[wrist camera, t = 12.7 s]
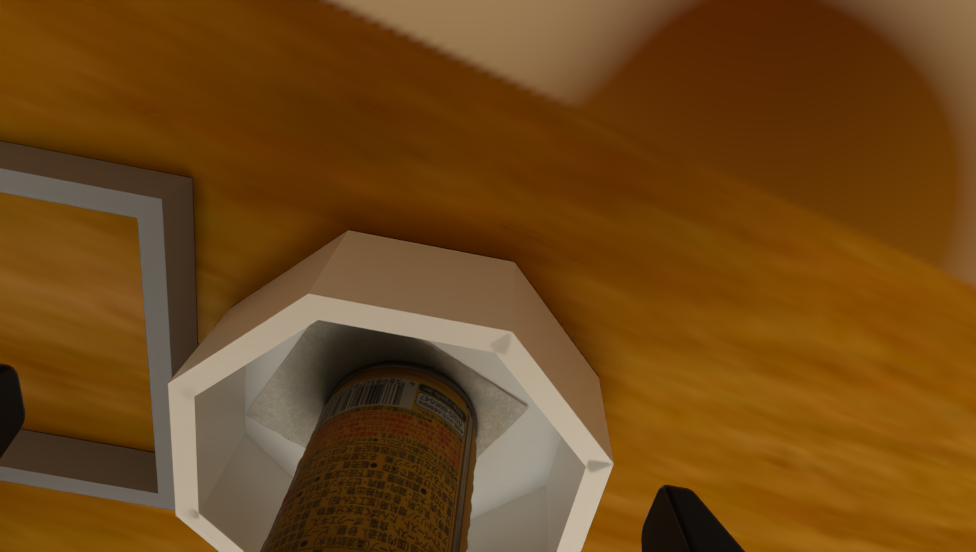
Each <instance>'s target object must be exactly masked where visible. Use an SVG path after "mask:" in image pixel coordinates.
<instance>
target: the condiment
mask: <svg viewBox="0 0 976 552" xmlns="http://www.w3.org/2000/svg"><path fill="white" fill-rule="evenodd" d="M527 409H528V407H526V406H524V405H523V404H521V403H519V402H518V401H516V400H515V399H514V398H512V397H511V396H509V395H507V394H506V393H504V392H503V391H501V390H500V389H498V388H497V387H496V386H494V385H493V384H491V383H490V382H488V381H486V380H484V379H482V378H480V377H479V376H478V375H476V374H475V373H474V372H472V371H471V370H469V369H468V368H466V367H464V366H463V365H461V364H459V363H456V362H455V361H454V360H453V359H451V358H450V357H448V356H446V355H444V354H442V353H441V352H439V351H437V350H436V349H434V348H433V347H431V346H429V345H426V344H424V343H422V342H421V341H419V340H417V339H416V338H413V337H408V336H403V335H397V334H392V333H386V332H381V331H376V330H370V329H365V328H360V327H354V326H349V325H343V324H338V323H333V322H327V321H322V320H317V321H316V322H314V323H312V324H311V325H309V326H308V328H307V329H306V331H305V332H304V333H303V334H302V336H301V337H300V339H299V340H298V342H297V343H296V344H295V346H294V347H293V348H292V350H291V351H290V353H289V354H288V355H287V357H286V358H285V360H284V361H283V362H282V363H281V365H280V366H279V368H278V369H277V371H276V372H275V374H274V375H273V376H272V378H271V379H270V380H269V382H268V383H267V385H266V386H265V387H264V389H263V390H262V391H261V393H260V395H259V396H258V397H257V399H256V400H255V401H254V403H253V404H252V406H251V407H250V408H249V410H248V411H247V413H246V414H245V415H246V416H248V417H250V418H251V419H253V420H255V421H257V422H258V423H259V424H261V425H263V426H264V427H266V428H268V429H271V430H273V431H276V432H277V433H279V434H281V435H282V436H283V437H284V438H286V439H287V440H289V441H291V442H294V443H296V444H299V445H300V446H302V447H304V448H306V449H305V451H304V454H303V456H302V458H301V459H300V460H299V462H298V465H297V469H296V472H295V474H294V477H293V479H292V482H291V485H290V487H289V489H288V491H287V494H286V496H285V498H284V500H283V502H282V505H281V507H280V509H279V512H278V514H277V516H276V519H275V521H274V523H273V525H272V528H271V530H270V532H269V535H268V537H267V539H266V540H265V542H264V544H263V546H262V548H261V550H260V552H466V551H467V549H468V540H467V537H468V530H469V528H470V515H471V512H472V503H471V499H472V494H473V490H474V487H473V481H474V470H475V465H476V461H477V460H476V459H477V458H478V457H479V456H480V455H481V454H482V453H483V452H484V451H485V450H486V449H487V448H488V447H489V446H490V445H491V444H492V443H493V442H494V441H495V440H497V439H498V438H499V437H500V436H501V435H502V434H503V433H505V432H506V431H507V430H508V428H510V427H511V426H512V425H513V424H514V423H515V422H516V421H517V420H518V419H519V418H520V417H521V416H522V415H523V414H524V413H525V412H526V411H527Z"/></svg>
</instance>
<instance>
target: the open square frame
mask: <svg viewBox="0 0 976 552" xmlns="http://www.w3.org/2000/svg"><path fill="white" fill-rule="evenodd" d="M0 192H3V193H8V194H13V195H18V196H24V197H29V198H34V199H39V200H45V201H50V202H55V203H60V204H66V205H71V206H76V207H81V208H87V209H92V210H97V211H102V212H108V213H113V214H118V215H124V216H129V217H134V218H137V221H138V234H139V247H140V260H141V273H142V286H143V299H144V312H145V325H146V338H147V351H148V364H149V377H150V390H151V403H152V416H153V430H154V443H155V453H152V452H147V451H141V450H135V449H130V448H124V447H118V446H113V445H107V444H101V443H96V442H90V441H84V440H78V439H73V438H67V437H61V436H56V435H50V434H44V433H39V432H33V431H27V430H21V429H20V431H19V433H18V434H17V435H16V437H15V438H14V440H13V441H12V443H11V444H10V446H9V447H8V449H7V450H6V451H5V453H4V454H3V456H2V457H1V459H0V480H1V481H7V482H12V483H18V484H24V485H30V486H36V487H41V488H47V489H53V490H59V491H65V492H71V493H76V494H82V495H88V496H94V497H100V498H105V499H111V500H117V501H123V502H129V503H134V504H140V505H146V506H152V507H158V508H163V509H169V510H175V493H174V477H173V460H172V444H171V427H170V410H169V394H168V383H169V382H170V380H171V379H172V378H173V377H174V375H175V374H176V373H177V372H178V371H179V369H180V368H181V367H182V366H183V365H184V363H185V362H186V361H187V360H188V358H189V357H190V356H191V355H192V354H193V352H194V351H195V350H196V349H197V348H198V338H197V307H196V275H195V244H194V212H193V181H192V178H189V177H184V176H179V175H173V174H168V173H163V172H158V171H153V170H147V169H142V168H137V167H132V166H127V165H122V164H116V163H111V162H106V161H101V160H96V159H91V158H85V157H80V156H75V155H70V154H65V153H59V152H54V151H49V150H44V149H39V148H34V147H28V146H23V145H18V144H13V143H8V142H3V141H0ZM175 511H176V510H175Z"/></svg>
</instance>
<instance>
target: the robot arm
mask: <svg viewBox="0 0 976 552" xmlns="http://www.w3.org/2000/svg"><path fill="white" fill-rule="evenodd" d="M24 419H25V408H24V403H23V398H22V393H21V388H20V382H19V377H18V374H17V371H16V370H15V369H14V368H13V367H11V366H10V365H6V364H0V459H1V457H2V456H3V454H4V453H5V451H6V450H7V449H8V447H9V446H10V444H11V443H12V441H13V440H14V438H15V437H16V435H17V434H18V433H19V431H20V429H21V427H22V425H23V422H24ZM641 544H642V552H745V551H744V550H743V549H742V548H741V546H740V545H739V544H738V543H737V542H736V541H735V539H734V538H733V537H732V536H731V535H730V534H729V532H728V531H727V530H726V529H725V528H724V527H723V525H722V524H721V523H720V522H719V521H718V520H717V518H716V517H715V516H714V515H713V514H712V513H711V511H710V510H709V509H708V508H707V507H706V506H705V504H704V503H703V502H702V501H701V500H700V499H699V497H698V496H697V495H696V494H695V493H694V492H693V491H692V490H690V489H687V488H682V487H676V486H671V485H663V486H662V487H661V488H660V489H659V490H658V492H657V494H656V496H655V499H654V501H653V503H652V506H651V508H650V510H649V513H648V515H647V517H646V520H645V522H644V525H643V529H642V537H641Z"/></svg>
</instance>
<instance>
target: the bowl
mask: <svg viewBox="0 0 976 552" xmlns="http://www.w3.org/2000/svg"><path fill="white" fill-rule="evenodd" d="M317 320H322V321H327V322H333V323H338V324H343V325H349V326H354V327H360V328H365V329H370V330H376V331H381V332H386V333H392V334H397V335H403V336H408V337H413V338H416V339H417V340H419V341H421V342H422V343H424V344H426V345H429V346H431V347H433V348H434V349H436V350H437V351H439V352H441V353H442V354H444V355H446V356H448V357H450V358H451V359H453V360H454V361H455V362H456V363H459V364H461V365H463V366H464V367H466V368H468V369H469V370H471V371H472V372H474V373H475V374H476V375H478V376H479V377H480V378H482V379H484V380H486V381H488V382H490V383H491V384H493V385H494V386H496V387H497V388H498V389H500V390H501V391H503V392H504V393H506V394H507V395H509V396H511V397H512V398H514V399H515V400H516V401H518V402H519V403H521V404H523V405H524V406H526V407H528V409H527V411H526V412H525V413H524V414H523V415H522V416H521V417H520V418H519V419H518V420H517V421H516V422H515V423H514V424H513V425H512V426H511V427H510V428H508V430H507V431H506V432H505V433H503V434H502V435H501V436H500V437H499V438H498V439H497V440H495V441H494V442H493V443H492V444H491V445H490V446H489V447H488V448H487V449H486V450H485V451H484V452H483V453H482V454H481V455H480V456H479V457H478V458H477V459H476V460H477V461H476V465H475V470H474V481H473V487H474V490H473V494H472V499H471V503H472V512H471V515H470V528H469V530H468V537H467V540H468V549H467V551H466V552H581V549H582V547H583V544H584V541H585V539H586V536H587V533H588V531H589V528H590V525H591V523H592V520H593V517H594V515H595V512H596V509H597V507H598V504H599V501H600V499H601V496H602V493H603V491H604V488H605V485H606V483H607V480H608V477H609V475H610V472H611V469H612V467H613V464H614V463H613V457H612V452H611V446H610V440H609V434H608V429H607V423H606V417H605V411H604V405H603V400H602V394H601V388H600V382H599V378H598V376H597V375H596V373H595V372H594V371H593V369H592V368H591V367H590V365H589V364H588V362H587V361H586V360H585V358H584V357H583V356H582V354H581V353H580V351H579V350H578V349H577V347H576V346H575V345H574V343H573V342H572V341H571V339H570V338H569V336H568V335H567V334H566V332H565V331H564V330H563V328H562V327H561V325H560V324H559V323H558V321H557V320H556V319H555V317H554V316H553V314H552V313H551V312H550V310H549V309H548V308H547V306H546V305H545V303H544V302H543V301H542V299H541V298H540V297H539V295H538V294H537V292H536V291H535V290H534V288H533V287H532V286H531V284H530V283H529V281H528V280H527V279H526V277H525V276H524V275H523V273H522V272H521V270H520V269H519V268H518V266H517V265H516V264H515V262H512V261H506V260H501V259H496V258H491V257H486V256H480V255H475V254H470V253H465V252H459V251H454V250H449V249H444V248H439V247H433V246H428V245H423V244H418V243H413V242H407V241H402V240H397V239H392V238H387V237H381V236H376V235H371V234H366V233H360V232H355V231H350V230H348V231H346V232H345V233H343V234H342V235H340V236H339V237H337V238H336V239H334V240H333V241H331V242H330V243H328V244H327V245H325V246H324V247H322V248H321V249H319V250H318V251H316V252H315V253H313V254H312V255H310V256H309V257H307V258H305V259H304V260H302V261H301V262H299V263H298V264H296V265H295V266H293V267H292V268H290V269H289V270H287V271H286V272H284V273H283V274H281V275H280V276H278V277H277V278H275V279H274V280H272V281H271V282H269V283H268V284H266V285H265V286H263V287H262V288H260V289H259V290H257V291H256V292H254V293H253V294H251V295H250V296H248V297H247V298H245V299H244V300H242V301H241V302H239V303H238V304H236V305H235V306H233V307H232V308H230V309H229V310H228V311H227V312H226V313H225V315H224V316H223V317H222V318H221V320H220V321H219V322H218V323H217V324H216V326H215V327H214V328H213V329H212V331H211V332H210V333H209V334H208V335H207V337H206V338H205V339H204V340H203V341H202V343H201V344H200V345H199V346H198V348H197V349H196V350H195V351H194V352H193V354H192V355H191V356H190V357H189V358H188V360H187V361H186V362H185V363H184V365H183V366H182V367H181V368H180V369H179V371H178V372H177V373H176V374H175V375H174V377H173V378H172V379H171V380H170V382H169V383H168V394H169V410H170V427H171V444H172V460H173V477H174V493H175V510H176V516H177V517H178V518H179V519H181V520H182V521H183V522H184V523H185V524H187V525H188V526H189V527H190V528H191V529H193V530H194V531H195V532H196V533H197V534H199V535H200V536H201V537H202V538H203V539H205V540H206V541H207V542H208V543H209V544H211V545H212V546H213V547H214V548H215V549H217V550H218V551H219V552H260V550H261V548H262V546H263V544H264V542H265V540H266V539H267V537H268V535H269V532H270V530H271V528H272V525H273V523H274V521H275V519H276V516H277V514H278V512H279V509H280V507H281V505H282V502H283V500H284V498H285V496H286V494H287V491H288V489H289V487H290V485H291V482H292V479H293V477H294V474H295V472H296V469H297V465H298V462H299V460H300V459H301V458H302V456H303V454H304V451H305V449H306V448H304V447H302V446H300V445H299V444H296V443H294V442H291V441H289V440H287V439H286V438H284V437H283V436H282V435H281V434H279V433H277V432H276V431H273V430H271V429H268V428H266V427H264V426H263V425H261V424H259V423H258V422H257V421H255V420H253V419H251V418H250V417H248V416H246V415H245V414H246V413H247V411H248V410H249V408H250V407H251V406H252V404H253V403H254V401H255V400H256V399H257V397H258V396H259V395H260V393H261V391H262V390H263V389H264V387H265V386H266V385H267V383H268V382H269V380H270V379H271V378H272V376H273V375H274V374H275V372H276V371H277V369H278V368H279V366H280V365H281V363H282V362H283V361H284V360H285V358H286V357H287V355H288V354H289V353H290V351H291V350H292V348H293V347H294V346H295V344H296V343H297V342H298V340H299V339H300V337H301V336H302V334H303V333H304V332H305V331H306V329H307V328H308V326H309V325H311V324H312V323H314V322H316V321H317Z"/></svg>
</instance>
